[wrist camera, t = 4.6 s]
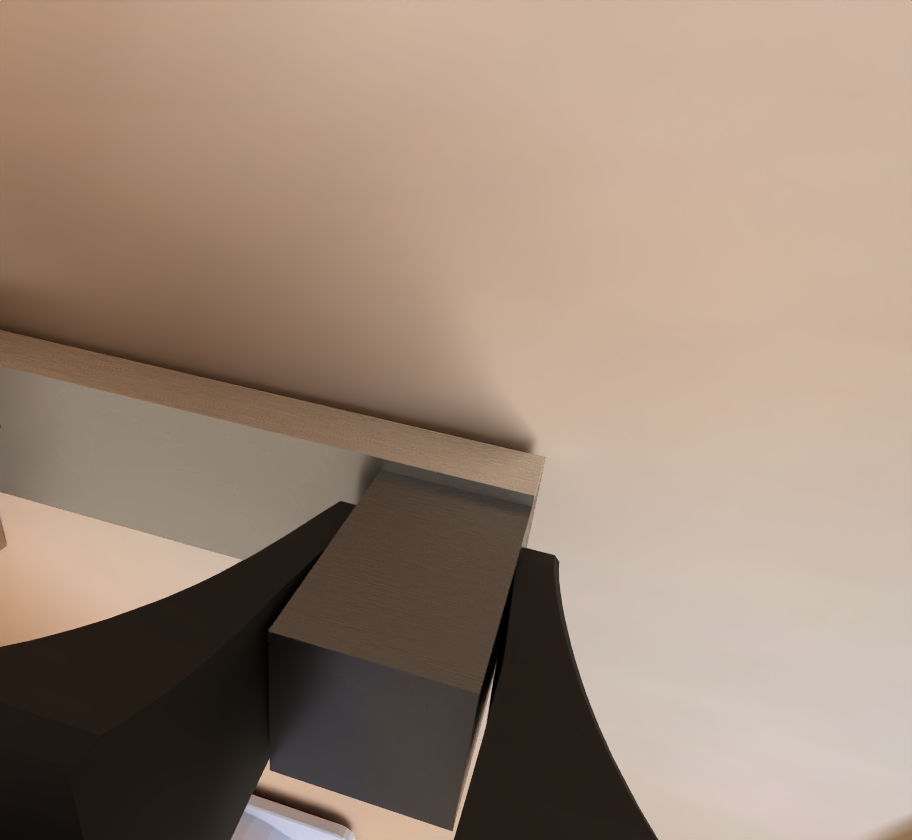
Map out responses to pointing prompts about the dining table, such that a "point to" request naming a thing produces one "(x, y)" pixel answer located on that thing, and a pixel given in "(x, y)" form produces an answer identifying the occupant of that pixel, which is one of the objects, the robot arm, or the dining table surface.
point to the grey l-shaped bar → (334, 574)
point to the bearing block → (2, 538)
